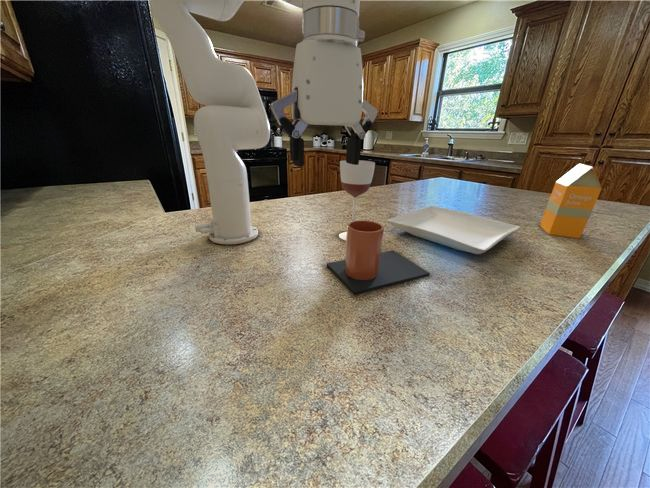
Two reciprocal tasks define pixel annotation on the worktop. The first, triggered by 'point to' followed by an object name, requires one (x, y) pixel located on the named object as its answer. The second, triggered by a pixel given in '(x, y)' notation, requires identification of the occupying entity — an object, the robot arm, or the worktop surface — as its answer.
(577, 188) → the orange juice
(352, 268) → the cup
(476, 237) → the square plate
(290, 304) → the worktop surface
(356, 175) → the wineglass
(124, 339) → the worktop surface
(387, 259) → the mat
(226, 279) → the worktop surface
